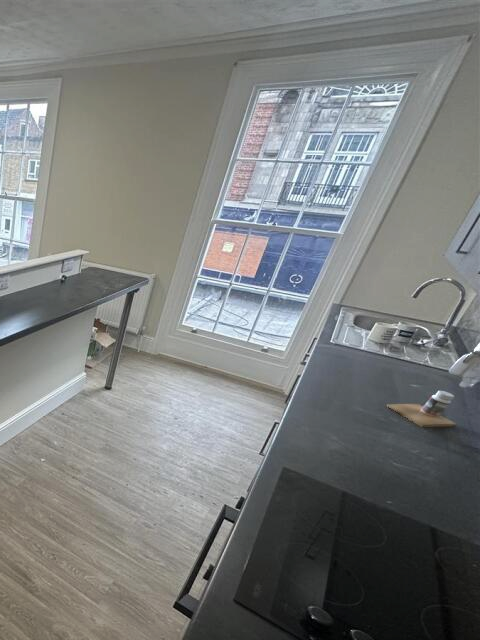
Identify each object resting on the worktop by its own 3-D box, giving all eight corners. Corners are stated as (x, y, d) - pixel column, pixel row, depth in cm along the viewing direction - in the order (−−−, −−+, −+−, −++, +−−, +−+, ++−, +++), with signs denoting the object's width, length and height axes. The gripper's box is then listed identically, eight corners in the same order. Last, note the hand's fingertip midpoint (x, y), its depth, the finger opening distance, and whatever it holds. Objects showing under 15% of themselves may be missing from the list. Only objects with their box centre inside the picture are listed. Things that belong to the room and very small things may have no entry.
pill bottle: (418, 407, 144) (434, 388, 140) (435, 412, 142) (452, 392, 138) (423, 414, 140) (439, 394, 136) (440, 418, 139) (458, 398, 134)
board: (454, 425, 137) (456, 423, 137) (421, 427, 135) (423, 424, 134) (416, 405, 147) (418, 403, 147) (385, 406, 145) (387, 404, 144)
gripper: (484, 355, 125) (452, 392, 132) (532, 355, 128) (498, 391, 136) (460, 346, 130) (430, 382, 137) (507, 346, 134) (476, 381, 141)
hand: (464, 386), depth 137 cm, fingers closed
